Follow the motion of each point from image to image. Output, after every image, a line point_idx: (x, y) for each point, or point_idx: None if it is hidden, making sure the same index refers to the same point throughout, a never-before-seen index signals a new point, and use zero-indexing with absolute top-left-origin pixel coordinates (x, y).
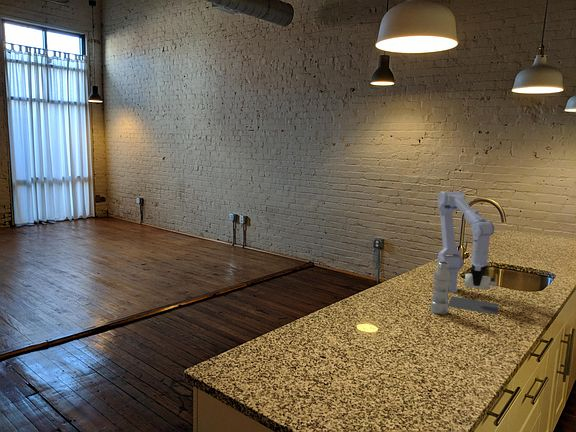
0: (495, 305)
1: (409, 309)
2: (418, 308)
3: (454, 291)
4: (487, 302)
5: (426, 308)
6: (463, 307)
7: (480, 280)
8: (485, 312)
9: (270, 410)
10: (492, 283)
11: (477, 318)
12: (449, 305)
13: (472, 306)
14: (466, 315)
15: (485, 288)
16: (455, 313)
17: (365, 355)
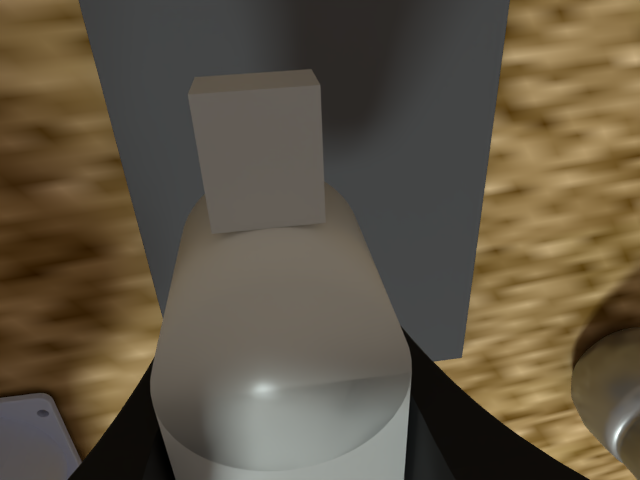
0: (166, 6)
1: (593, 473)
2: (558, 452)
3: (31, 412)
4: (122, 108)
5: (540, 427)
6: (436, 268)
7: (449, 381)
8: (487, 81)
9: None
10: (319, 171)
11: (634, 123)
12: (441, 352)
13: (366, 214)
14: (588, 211)
15: (356, 222)
16: (571, 282)
17: None
